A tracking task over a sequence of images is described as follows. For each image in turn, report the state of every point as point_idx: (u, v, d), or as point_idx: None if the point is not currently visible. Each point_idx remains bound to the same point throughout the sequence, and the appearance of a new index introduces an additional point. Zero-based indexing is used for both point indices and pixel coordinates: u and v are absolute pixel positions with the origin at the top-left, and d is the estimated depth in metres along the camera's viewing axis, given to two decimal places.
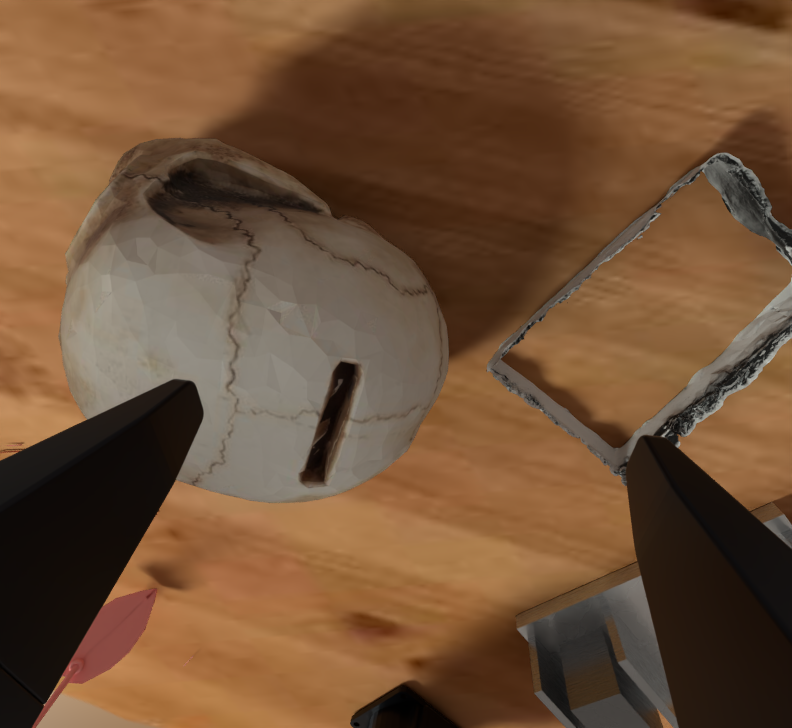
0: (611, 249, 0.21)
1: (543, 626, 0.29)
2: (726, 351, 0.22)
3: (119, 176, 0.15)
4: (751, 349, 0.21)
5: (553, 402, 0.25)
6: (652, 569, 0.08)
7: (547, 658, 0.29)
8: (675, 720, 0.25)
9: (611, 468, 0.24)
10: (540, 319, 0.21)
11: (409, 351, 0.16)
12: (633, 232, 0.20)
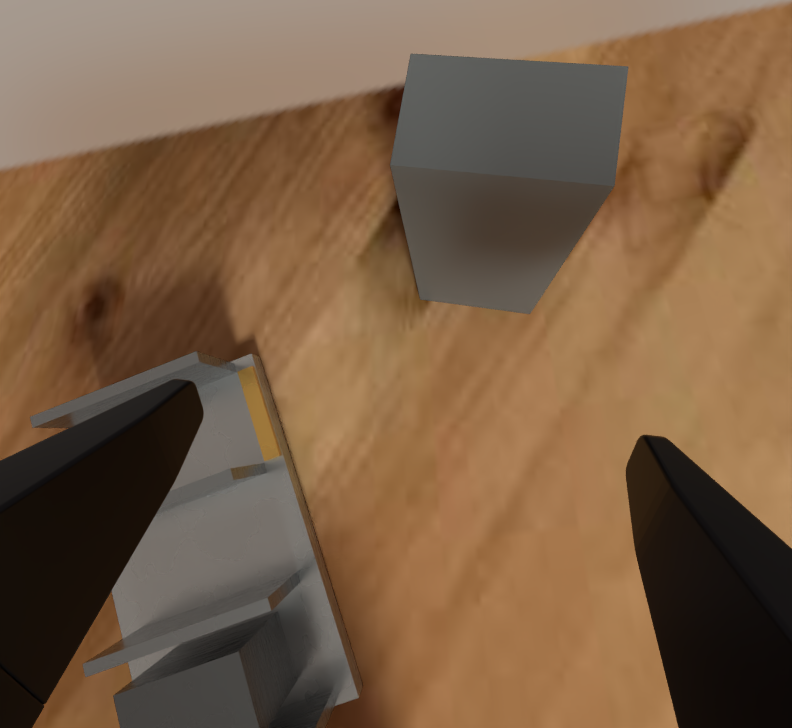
0: None
1: None
2: None
3: None
4: None
5: None
6: (652, 569, 0.08)
7: None
8: (201, 625, 0.18)
9: None
10: None
11: None
12: None
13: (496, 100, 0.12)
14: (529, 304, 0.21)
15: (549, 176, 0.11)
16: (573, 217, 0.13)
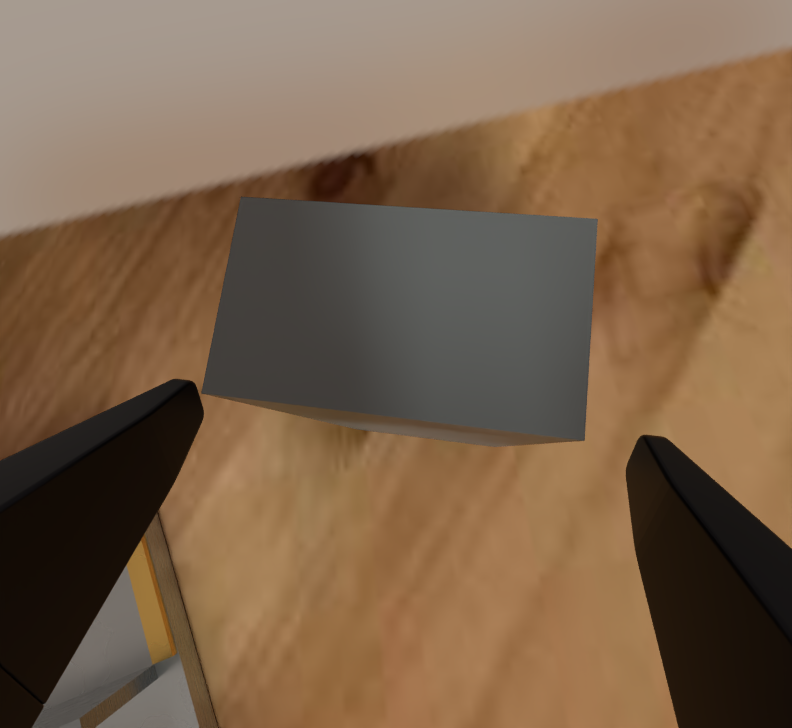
0: None
1: None
2: None
3: None
4: None
5: None
6: (652, 569, 0.08)
7: None
8: None
9: None
10: None
11: None
12: None
13: (378, 278, 0.07)
14: (492, 445, 0.16)
15: (470, 420, 0.06)
16: (524, 438, 0.08)
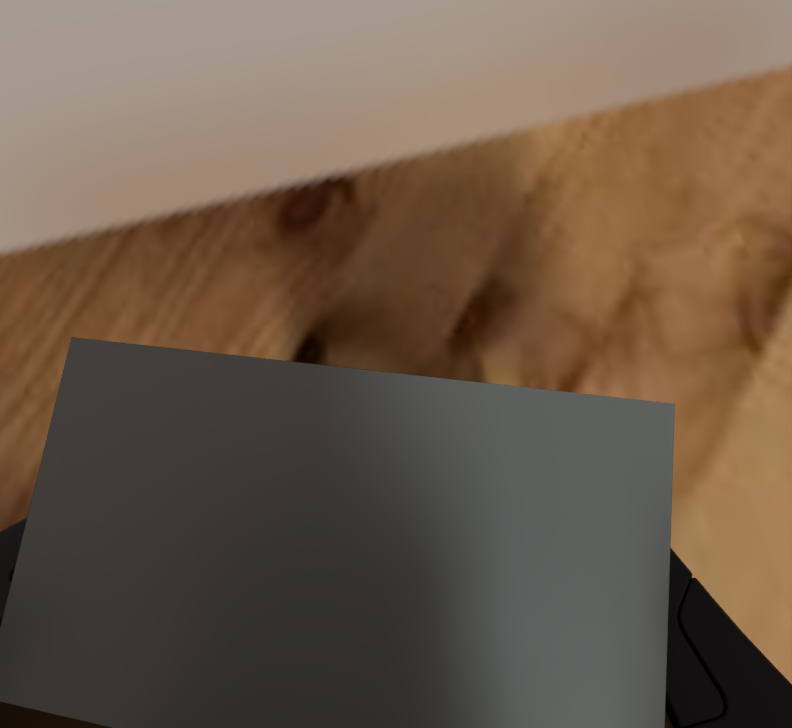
0: None
1: None
2: None
3: None
4: None
5: None
6: None
7: None
8: None
9: None
10: None
11: None
12: None
13: (289, 497, 0.04)
14: None
15: None
16: None
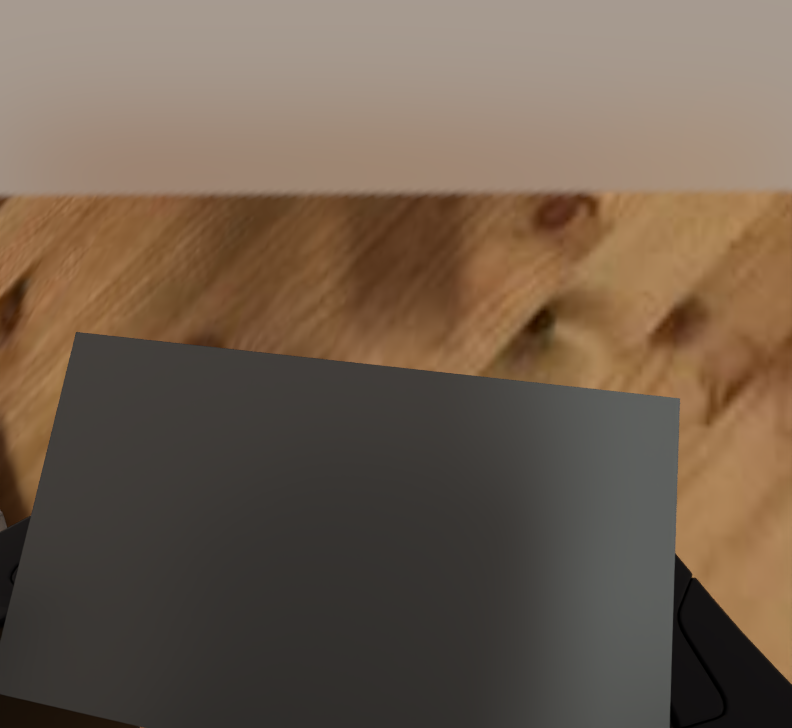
0: None
1: None
2: None
3: None
4: None
5: None
6: None
7: None
8: None
9: None
10: None
11: None
12: None
13: (294, 492, 0.04)
14: None
15: None
16: None
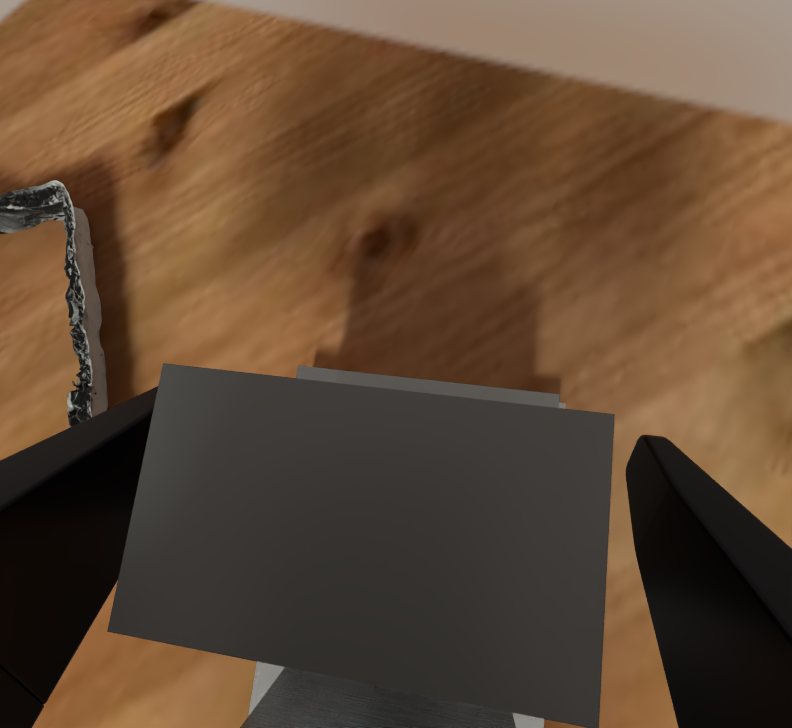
0: None
1: None
2: (96, 301, 0.21)
3: None
4: None
5: None
6: (652, 569, 0.08)
7: None
8: None
9: None
10: None
11: None
12: None
13: (332, 483, 0.05)
14: None
15: (448, 690, 0.05)
16: None
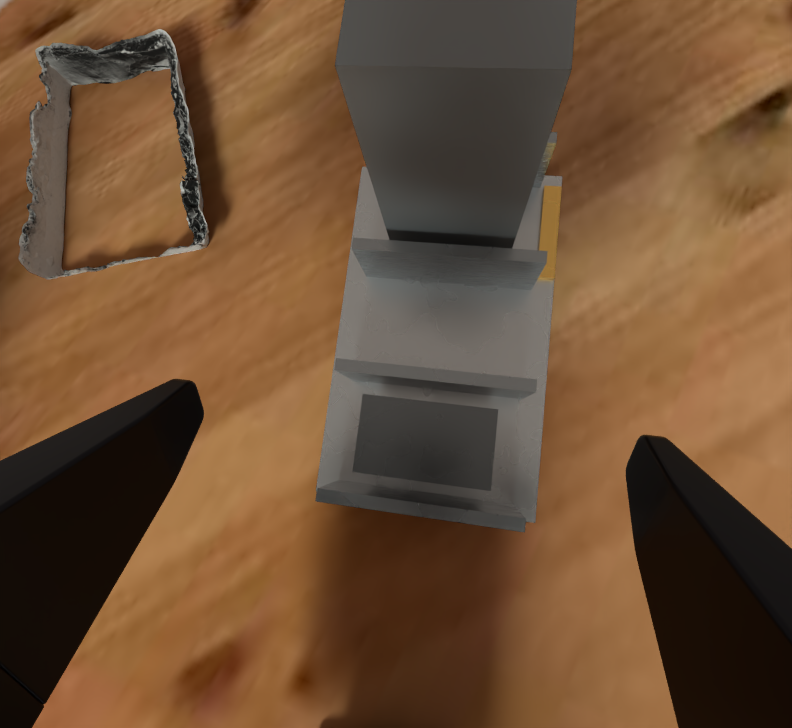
0: (49, 146, 0.26)
1: (333, 458, 0.22)
2: (190, 128, 0.26)
3: None
4: None
5: (130, 262, 0.26)
6: (652, 569, 0.08)
7: (362, 485, 0.21)
8: (462, 375, 0.18)
9: (189, 247, 0.24)
10: (29, 208, 0.25)
11: None
12: (45, 125, 0.26)
13: None
14: None
15: (502, 65, 0.11)
16: (534, 120, 0.12)
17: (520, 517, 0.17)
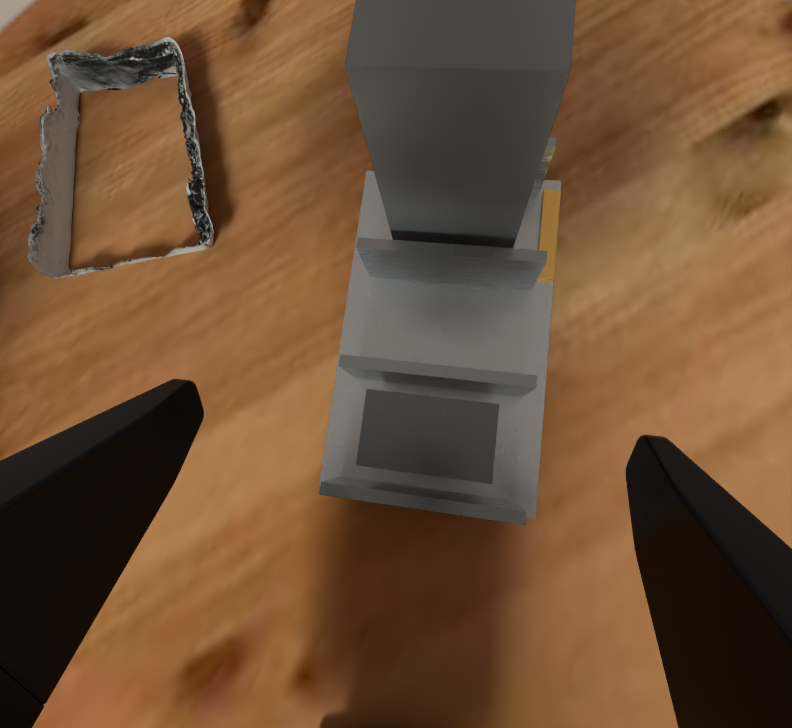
0: (58, 149, 0.27)
1: (336, 455, 0.22)
2: (196, 133, 0.27)
3: None
4: None
5: (136, 262, 0.26)
6: (652, 569, 0.08)
7: (364, 480, 0.21)
8: (464, 371, 0.19)
9: (194, 246, 0.24)
10: (38, 209, 0.25)
11: None
12: (54, 129, 0.27)
13: None
14: None
15: (505, 66, 0.11)
16: (535, 120, 0.13)
17: (521, 510, 0.17)
